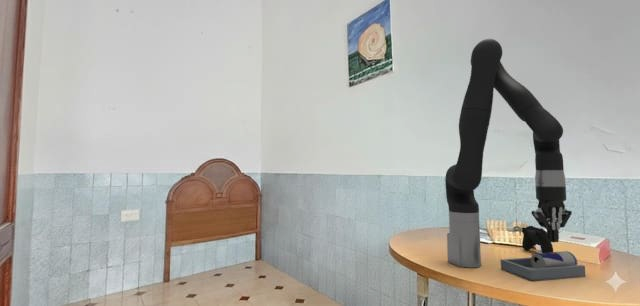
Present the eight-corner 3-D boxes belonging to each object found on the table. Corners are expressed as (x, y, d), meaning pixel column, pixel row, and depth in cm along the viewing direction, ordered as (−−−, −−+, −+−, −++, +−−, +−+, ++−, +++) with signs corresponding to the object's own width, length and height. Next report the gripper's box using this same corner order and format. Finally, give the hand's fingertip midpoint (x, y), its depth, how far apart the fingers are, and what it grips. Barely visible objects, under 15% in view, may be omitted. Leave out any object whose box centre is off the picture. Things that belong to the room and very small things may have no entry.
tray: (531, 281, 86) (531, 270, 86) (501, 269, 96) (500, 259, 96) (585, 276, 89) (584, 265, 89) (550, 265, 100) (549, 256, 100)
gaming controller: (560, 259, 107) (559, 230, 107) (543, 259, 107) (541, 230, 108) (533, 249, 121) (532, 223, 122) (517, 249, 121) (516, 223, 122)
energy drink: (567, 247, 96) (536, 249, 93) (582, 262, 91) (550, 265, 88) (557, 258, 98) (527, 260, 96) (571, 272, 94) (540, 276, 91)
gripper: (543, 185, 90) (546, 245, 89) (579, 185, 93) (583, 243, 92) (521, 184, 98) (524, 240, 97) (556, 184, 100) (559, 238, 99)
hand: (553, 241), depth 94 cm, fingers closed
